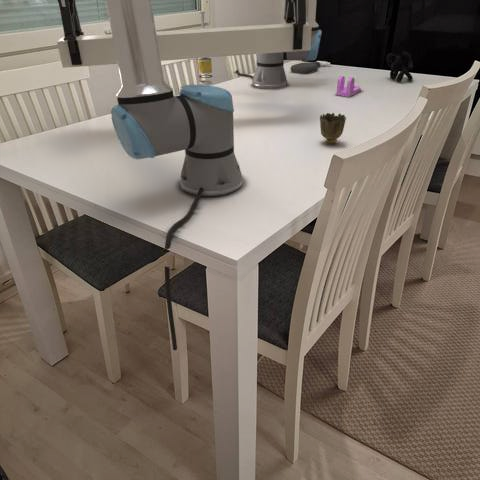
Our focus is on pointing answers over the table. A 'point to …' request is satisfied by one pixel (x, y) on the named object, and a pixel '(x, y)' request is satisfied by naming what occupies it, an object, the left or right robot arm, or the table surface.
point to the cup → (332, 127)
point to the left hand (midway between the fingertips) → (79, 61)
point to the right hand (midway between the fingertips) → (293, 47)
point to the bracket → (350, 87)
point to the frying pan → (307, 67)
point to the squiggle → (399, 66)
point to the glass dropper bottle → (205, 62)
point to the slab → (195, 43)
